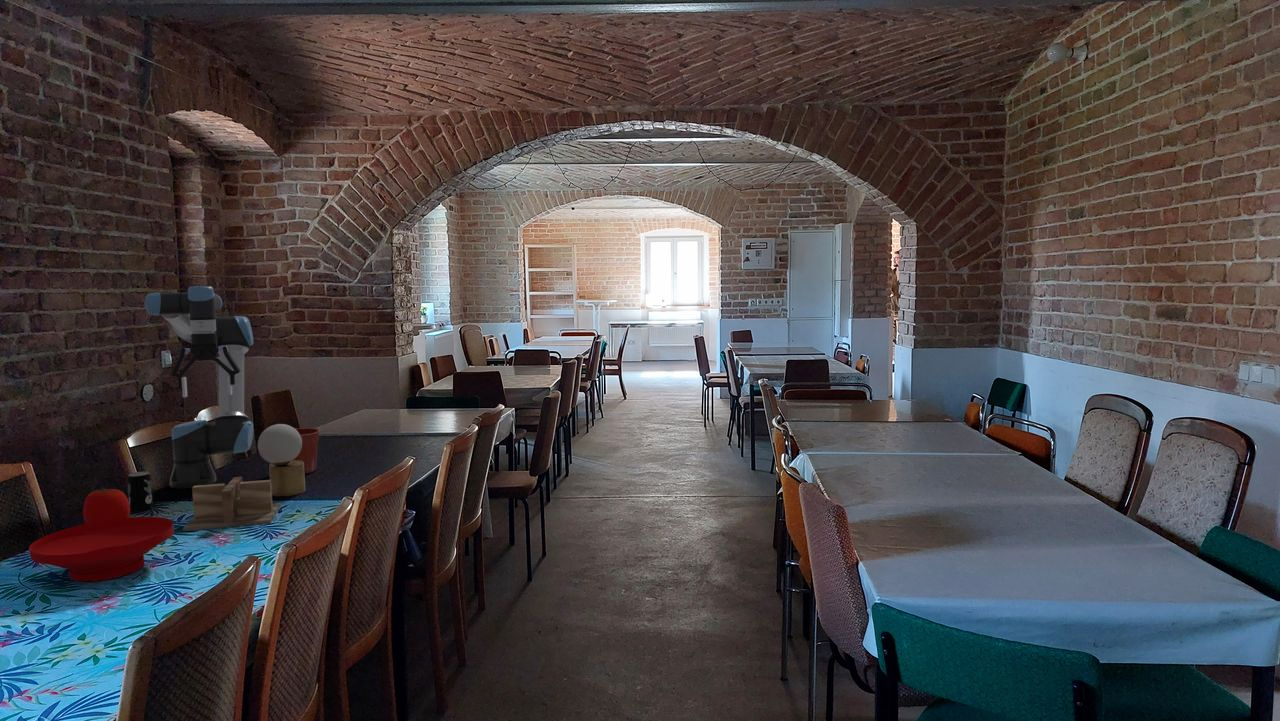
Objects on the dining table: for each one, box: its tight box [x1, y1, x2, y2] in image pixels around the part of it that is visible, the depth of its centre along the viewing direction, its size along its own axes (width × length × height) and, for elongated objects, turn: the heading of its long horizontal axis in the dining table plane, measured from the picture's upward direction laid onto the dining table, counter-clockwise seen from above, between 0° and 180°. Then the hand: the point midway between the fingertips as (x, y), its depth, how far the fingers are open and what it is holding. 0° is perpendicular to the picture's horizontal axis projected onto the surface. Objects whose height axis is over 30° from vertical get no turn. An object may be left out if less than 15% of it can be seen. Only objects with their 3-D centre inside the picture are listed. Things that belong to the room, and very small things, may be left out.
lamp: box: [257, 423, 306, 498], centre depth 271 cm, size 15×14×25 cm
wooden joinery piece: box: [182, 479, 281, 532], centre depth 244 cm, size 20×24×11 cm
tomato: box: [82, 487, 131, 524], centre depth 230 cm, size 13×11×14 cm
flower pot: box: [293, 427, 321, 475], centre depth 305 cm, size 16×16×16 cm
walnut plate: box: [222, 476, 243, 523], centre depth 244 cm, size 18×2×10 cm, turn 17°
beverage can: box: [126, 471, 154, 512], centre depth 256 cm, size 7×7×12 cm
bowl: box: [28, 516, 175, 582], centre depth 199 cm, size 30×30×10 cm
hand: (208, 395), depth 259 cm, fingers open, 13 cm apart
